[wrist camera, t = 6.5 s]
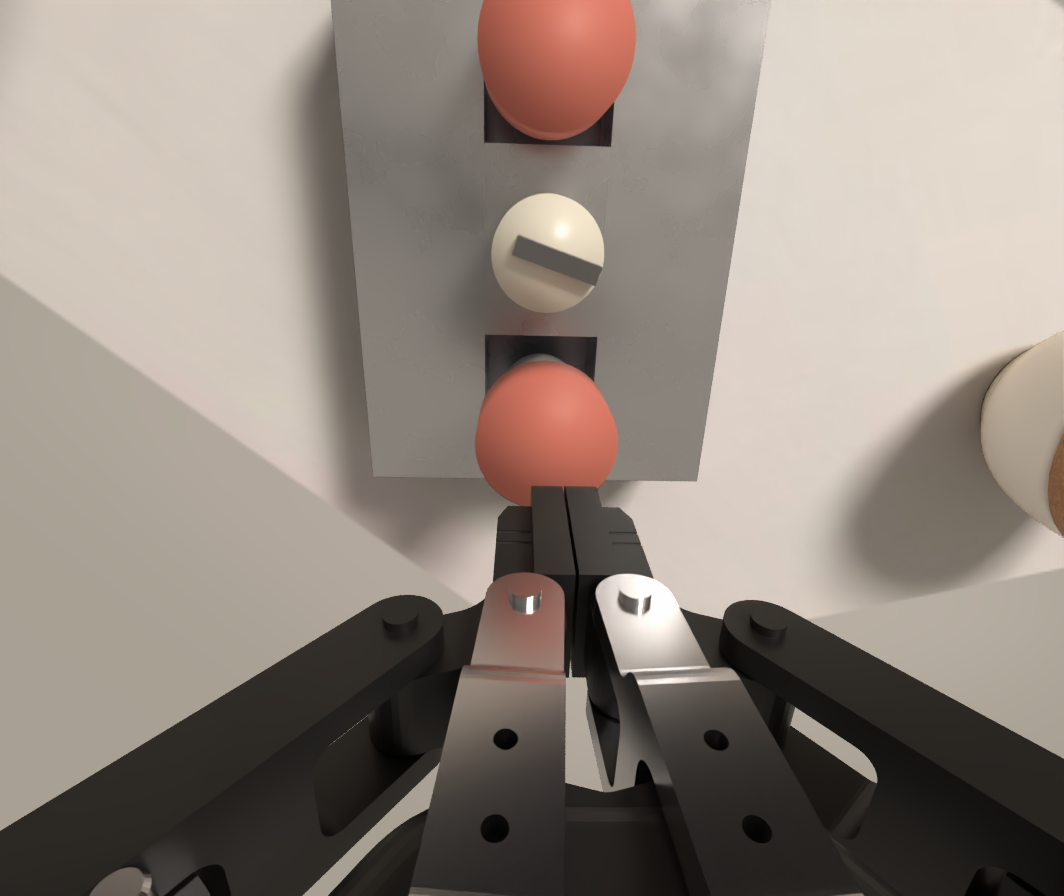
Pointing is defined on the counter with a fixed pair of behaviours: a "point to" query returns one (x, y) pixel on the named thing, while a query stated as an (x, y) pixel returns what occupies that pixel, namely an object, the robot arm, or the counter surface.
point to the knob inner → (555, 61)
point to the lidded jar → (1029, 431)
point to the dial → (547, 252)
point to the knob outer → (544, 429)
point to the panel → (527, 168)
